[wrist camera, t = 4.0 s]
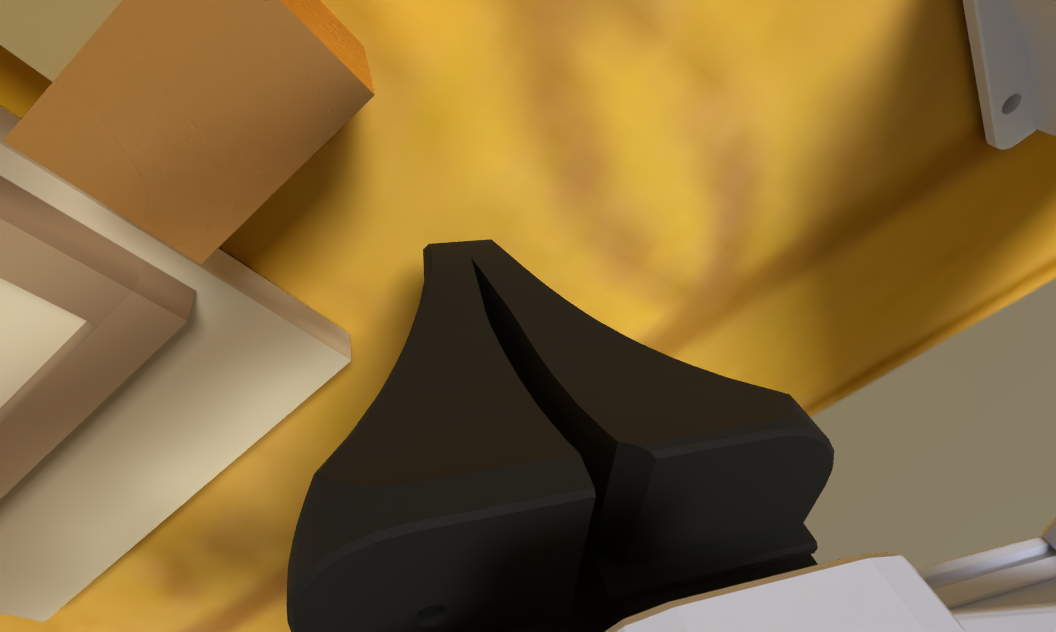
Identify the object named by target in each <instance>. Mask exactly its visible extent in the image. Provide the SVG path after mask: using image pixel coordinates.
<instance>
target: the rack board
mask: <svg viewBox="0 0 1056 632" xmlns="http://www.w3.org/2000/svg"><path fill="white" fill-rule="evenodd" d="M20 120H21V119H20V118H18V117H16V116H15V115H13V114H12V113H10V112H9V111H7V110H6V109H4V108H3V107H1V106H0V613H2V614H7V615H12V616H17V617H22V618H28V619H33V620H38V621H43V622H45V621H46V620H48V619H49V618H50V617H51V616H52V615H53V614H55V613H56V612H57V611H58V610H59V609H60V608H62V607H63V606H64V605H65V604H66V603H67V602H69V601H70V600H71V599H72V598H73V597H75V596H76V595H77V594H78V593H79V592H80V591H82V590H83V589H84V588H85V587H86V586H87V585H89V584H90V583H91V582H92V581H93V580H95V579H96V578H97V577H98V576H99V575H100V574H102V573H103V572H104V571H105V570H106V569H107V568H109V567H110V566H111V565H112V564H113V563H114V562H116V561H117V560H118V559H119V558H120V557H122V556H123V555H124V554H125V553H126V552H127V551H129V550H130V549H131V548H132V547H133V546H134V545H136V544H137V543H138V542H139V541H140V540H141V539H143V538H144V537H145V536H146V535H147V534H149V533H150V532H151V531H152V530H153V529H154V528H156V527H157V526H158V525H159V524H160V523H161V522H163V521H164V520H165V519H166V518H167V517H168V516H170V515H171V514H172V513H173V512H174V511H176V510H177V509H178V508H179V507H180V506H181V505H183V504H184V503H185V502H186V501H187V500H188V499H190V498H191V497H192V496H193V495H194V494H195V493H197V492H198V491H199V490H200V489H201V488H203V487H204V486H205V485H206V484H207V483H208V482H210V481H211V480H212V479H213V478H214V477H215V476H217V475H218V474H219V473H220V472H221V471H222V470H224V469H225V468H226V467H227V466H228V465H230V464H231V463H232V462H233V461H234V460H235V459H237V458H238V457H239V456H240V455H241V454H242V453H244V452H245V451H246V450H247V449H248V448H249V447H251V446H252V445H253V444H254V443H255V442H257V441H258V440H259V439H260V438H261V437H262V436H264V435H265V434H266V433H267V432H268V431H269V430H271V429H272V428H273V427H274V426H275V425H276V424H278V423H279V422H280V421H281V420H282V419H284V418H285V417H286V416H287V415H288V414H289V413H291V412H292V411H293V410H294V409H295V408H296V407H298V406H299V405H300V404H301V403H302V402H303V401H305V400H306V399H307V398H308V397H309V396H311V395H312V394H313V393H314V392H315V391H316V390H318V389H319V388H320V387H321V386H322V385H323V384H325V383H326V382H327V381H328V380H329V379H330V378H332V377H333V376H334V375H335V374H336V373H338V372H339V371H340V370H341V369H342V368H343V367H345V366H346V365H347V364H348V363H349V362H350V361H351V344H350V334H349V333H348V332H346V331H345V330H343V329H342V328H340V327H338V326H337V325H335V324H334V323H332V322H331V321H329V320H328V319H326V318H325V317H323V316H322V315H320V314H319V313H317V312H315V311H314V310H312V309H311V308H309V307H308V306H306V305H305V304H303V303H302V302H300V301H299V300H297V299H296V298H294V297H292V296H291V295H289V294H288V293H286V292H285V291H283V290H282V289H280V288H279V287H277V286H276V285H274V284H273V283H271V282H269V281H268V280H266V279H265V278H263V277H262V276H260V275H259V274H257V273H256V272H254V271H253V270H251V269H250V268H248V267H246V266H245V265H243V264H242V263H240V262H239V261H237V260H236V259H234V258H233V257H231V256H230V255H228V254H227V253H225V252H223V251H222V250H220V249H219V248H217V249H216V250H215V251H214V252H213V253H212V254H211V255H210V256H209V257H208V258H207V259H206V260H205V261H204V262H203V263H202V264H199V263H198V262H196V261H195V260H193V259H191V258H190V257H188V256H187V255H185V254H183V253H182V252H180V251H179V250H177V249H175V248H174V247H172V246H170V245H169V244H167V243H166V242H164V241H162V240H161V239H159V238H158V237H156V236H154V235H153V234H151V233H150V232H148V231H146V230H145V229H143V228H142V227H140V226H138V225H137V224H135V223H133V222H132V221H130V220H129V219H127V218H125V217H124V216H122V215H121V214H119V213H117V212H116V211H114V210H113V209H111V208H109V207H108V206H106V205H105V204H103V203H101V202H100V201H98V200H96V199H95V198H93V197H92V196H90V195H88V194H87V193H85V192H84V191H82V190H80V189H79V188H77V187H76V186H74V185H72V184H71V183H69V182H68V181H66V180H64V179H63V178H61V177H59V176H58V175H56V174H55V173H53V172H51V171H50V170H48V169H47V168H45V167H43V166H42V165H40V164H39V163H37V162H35V161H34V160H32V159H30V158H29V157H27V156H26V155H24V154H22V153H21V152H19V151H18V150H16V149H14V148H13V147H11V146H10V145H8V144H6V143H5V142H3V140H4V139H5V137H6V136H7V135H8V134H9V133H10V132H11V130H12V129H13V128H14V127H15V126H16V125H17V123H18V122H19V121H20Z"/></svg>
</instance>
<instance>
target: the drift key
mask: <svg viewBox="0 0 1056 632" xmlns="http://www.w3.org/2000/svg"><path fill="white" fill-rule="evenodd" d="M0 45H1V46H2V47H4V48H5V49H7V50H8V51H9V52H11V53H12V54H14V55H15V56H17V57H18V58H19V59H21V60H22V61H24V62H25V63H26V64H28V65H29V66H31V67H32V68H33V69H35V70H36V71H38V72H39V73H41V74H42V75H43V76H45V77H46V78H48V79H49V80H50V81H52V83H51V85H50V86H49V87H48V88H47V89H46V91H45V92H44V93H43V94H42V95H41V96H40V98H39V99H38V100H37V101H36V102H35V103H34V105H33V106H32V107H31V108H30V109H29V110H28V112H27V113H26V114H25V115H24V116H23V117H22V119H21V120H20V121H19V122H18V123H17V125H16V126H15V127H14V128H13V129H12V130H11V132H10V133H9V134H8V135H7V136H6V137H5V139H4V140H3V142H5V143H6V144H8V145H10V146H11V147H13V148H14V149H16V150H18V151H19V152H21V153H22V154H24V155H26V156H27V157H29V158H30V159H32V160H34V161H35V162H37V163H39V164H40V165H42V166H43V167H45V168H47V169H48V170H50V171H51V172H53V173H55V174H56V175H58V176H59V177H61V178H63V179H64V180H66V181H68V182H69V183H71V184H72V185H74V186H76V187H77V188H79V189H80V190H82V191H84V192H85V193H87V194H88V195H90V196H92V197H93V198H95V199H96V200H98V201H100V202H101V203H103V204H105V205H106V206H108V207H109V208H111V209H113V210H114V211H116V212H117V213H119V214H121V215H122V216H124V217H125V218H127V219H129V220H130V221H132V222H133V223H135V224H137V225H138V226H140V227H142V228H143V229H145V230H146V231H148V232H150V233H151V234H153V235H154V236H156V237H158V238H159V239H161V240H162V241H164V242H166V243H167V244H169V245H170V246H172V247H174V248H175V249H177V250H179V251H180V252H182V253H183V254H185V255H187V256H188V257H190V258H191V259H193V260H195V261H196V262H198V263H199V264H202V263H203V262H204V261H205V260H206V259H207V258H208V257H209V256H210V255H211V254H212V253H213V252H214V251H215V250H216V249H217V248H218V247H219V246H220V245H221V244H222V243H224V242H225V241H226V240H227V239H228V238H229V237H230V236H231V235H232V234H233V233H234V232H235V231H236V230H237V229H238V228H239V227H240V226H241V225H242V224H243V223H244V222H245V221H246V220H247V219H248V218H249V217H250V216H251V215H252V214H253V213H254V212H255V211H256V210H257V209H258V208H259V207H260V206H261V205H262V204H263V203H265V202H266V201H267V200H268V199H269V198H270V197H271V196H272V195H273V194H274V193H275V192H276V191H277V190H278V189H279V188H280V187H281V186H282V185H283V184H284V183H285V182H286V181H287V180H288V179H289V178H290V177H291V176H292V175H293V174H294V173H295V172H296V171H297V170H298V169H299V168H300V167H301V166H302V165H303V164H304V163H306V162H307V161H308V160H309V159H310V158H311V157H312V156H313V155H314V154H315V153H316V152H317V151H318V150H319V149H320V148H321V147H322V146H323V145H324V144H325V143H326V142H327V141H328V140H329V139H330V138H331V137H332V136H333V135H334V134H335V133H336V132H337V131H338V130H339V129H340V128H341V127H342V126H343V125H344V124H346V123H347V122H348V121H349V120H350V119H351V118H352V117H353V116H354V115H355V114H356V113H357V112H358V111H359V110H360V109H361V108H362V107H363V106H364V105H365V104H366V103H367V102H368V101H369V100H370V99H371V98H372V97H373V96H374V95H375V94H374V89H373V85H372V80H371V76H370V71H369V67H368V62H367V58H366V53H365V49H364V46H363V45H362V44H361V43H360V42H359V41H358V40H357V39H356V38H355V37H354V36H353V35H352V34H351V33H350V32H349V31H348V29H347V28H346V27H345V26H344V25H343V24H342V23H341V22H340V21H339V20H338V19H337V18H336V17H335V16H334V15H333V14H332V13H331V12H330V11H329V9H328V8H327V7H326V6H325V5H324V4H323V3H322V2H321V1H320V0H0Z"/></svg>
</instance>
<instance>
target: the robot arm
mask: <svg viewBox="0 0 1056 632" xmlns="http://www.w3.org/2000/svg"><path fill="white" fill-rule="evenodd" d="M963 6H964V12H965V18H966V23H967V29H968V35H969V41H970V47H971V53H972V59H973V65H974V71H975V77H976V83H977V89H978V95H979V101H980V107H981V112H982V118H983V124H984V130H985V136H986V141H987V143H988V144H989V145H991V146H993V147H996V148H998V149H1001V150H1005V149H1009V148H1011V147H1013V146H1015V145H1017V144H1018V143H1019V142H1021V141H1022V140H1024V139H1025V138H1026V137H1028V136H1029V135H1030V134H1032V133H1033V132H1035V131H1036V130H1037V129H1038V130H1040V131H1042V132H1045V133H1047V134H1050V135H1052V136H1055V137H1056V0H963ZM423 258H424V285H423V290H422V295H421V300H420V303H419V307H418V310H417V313H416V316H415V319H414V322H413V325H412V328H411V331H410V334H409V336H408V339H407V341H406V343H405V346H404V348H403V350H402V352H401V354H400V356H399V358H398V361H397V363H396V365H395V366H394V368H393V370H392V372H391V374H390V375H389V377H388V379H387V381H386V383H385V384H384V386H383V388H382V389H381V391H380V393H379V394H378V396H377V397H376V399H375V400H374V402H373V403H372V404H371V406H370V407H369V409H368V410H367V411H366V413H365V414H364V415H363V417H362V418H361V420H360V421H359V422H358V424H357V425H356V427H355V428H354V429H353V431H352V432H351V433H350V434H349V436H348V437H347V438H346V439H345V440H344V441H343V443H342V444H341V445H340V446H339V447H338V448H337V449H336V450H335V451H334V453H333V454H332V455H331V456H330V457H329V458H328V459H327V460H326V462H325V463H324V464H323V465H322V466H321V467H320V468H319V469H318V470H317V471H316V473H315V474H314V476H313V479H312V481H311V484H310V487H309V490H308V492H307V495H306V498H305V501H304V504H303V507H302V510H301V513H300V516H299V520H298V523H297V526H296V530H295V534H294V538H293V543H292V548H291V553H290V559H289V565H288V578H287V619H288V624H289V627H290V630H291V632H1056V518H1055V519H1054V520H1053V521H1052V522H1051V523H1050V524H1049V525H1048V526H1047V527H1046V529H1045V530H1044V531H1043V535H1042V536H1038V537H1034V538H1031V539H1027V540H1023V541H1020V542H1016V543H1012V544H1009V545H1005V546H1001V547H997V548H993V549H989V550H985V551H982V552H978V553H974V554H970V555H967V556H963V557H959V558H955V559H952V560H948V561H944V562H940V563H936V564H933V565H929V566H925V567H921V568H918V569H914V567H913V566H912V565H911V564H910V563H909V562H908V561H907V560H906V559H905V558H904V557H903V556H902V555H897V554H892V553H875V554H862V555H855V556H851V557H847V558H843V559H839V560H835V561H831V562H827V563H823V564H819V565H818V564H817V563H816V561H815V560H814V558H813V557H812V556H811V554H812V553H815V551H816V550H817V542H816V540H815V539H814V537H813V536H812V535H811V533H810V532H809V531H808V529H807V528H806V526H805V525H804V523H803V522H804V521H805V519H806V517H807V515H808V514H809V512H810V510H811V509H812V507H813V505H814V504H815V502H816V500H817V499H818V497H819V495H820V493H821V492H822V490H823V488H824V487H825V485H826V483H827V481H828V478H829V476H830V474H831V471H832V468H833V459H834V449H833V447H832V445H831V443H830V441H829V439H828V438H827V437H826V435H825V434H824V433H823V432H822V431H821V430H820V429H819V427H818V426H817V425H816V424H815V423H814V422H813V420H812V419H811V418H810V417H809V416H808V415H807V414H806V412H805V411H804V410H803V409H802V408H801V407H800V405H799V404H798V403H797V402H796V401H795V400H794V399H793V398H792V397H791V396H790V395H789V394H785V393H782V392H778V391H774V390H771V389H767V388H763V387H760V386H756V385H752V384H749V383H745V382H741V381H737V380H734V379H730V378H727V377H724V376H721V375H718V374H715V373H712V372H710V371H707V370H704V369H701V368H698V367H695V366H692V365H690V364H687V363H685V362H682V361H679V360H677V359H674V358H672V357H669V356H667V355H665V354H663V353H660V352H658V351H656V350H654V349H651V348H649V347H647V346H645V345H643V344H640V343H638V342H636V341H634V340H632V339H630V338H628V337H626V336H624V335H622V334H621V333H619V332H617V331H615V330H614V329H612V328H610V327H608V326H606V325H605V324H603V323H601V322H599V321H598V320H596V319H594V318H593V317H591V316H589V315H588V314H586V313H585V312H583V311H582V310H580V309H579V308H577V307H576V306H574V305H573V304H571V303H570V302H568V301H567V300H566V299H564V298H563V297H561V296H560V295H559V294H557V293H556V292H555V291H553V290H552V289H550V288H549V287H548V286H547V285H545V284H544V283H543V282H541V281H540V280H539V279H538V278H536V277H535V276H534V275H533V274H532V273H530V272H529V271H528V270H527V269H525V268H524V267H523V266H522V265H521V264H520V263H518V262H517V261H516V260H515V259H514V258H513V257H511V256H510V255H509V254H508V253H507V252H506V251H504V250H503V249H502V248H501V247H500V246H499V245H497V244H496V243H495V242H494V241H493V240H477V241H463V242H449V243H435V244H428V245H427V246H426V247H425V248H424V249H423Z"/></svg>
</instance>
